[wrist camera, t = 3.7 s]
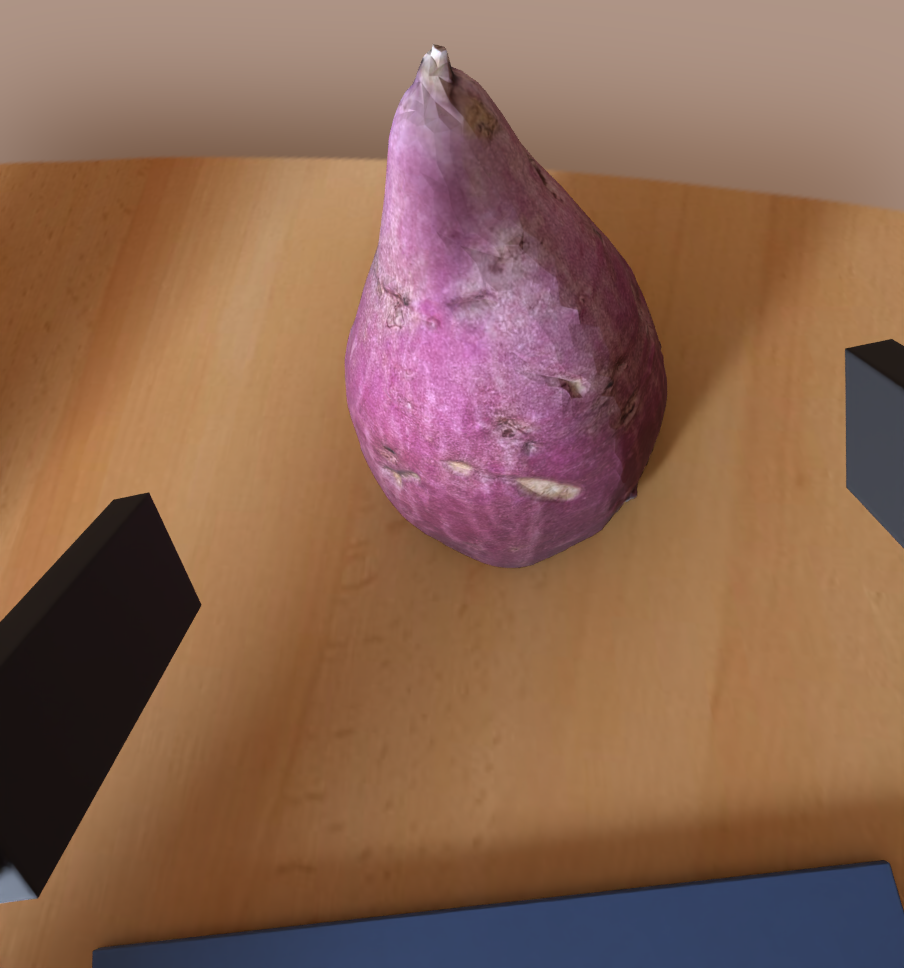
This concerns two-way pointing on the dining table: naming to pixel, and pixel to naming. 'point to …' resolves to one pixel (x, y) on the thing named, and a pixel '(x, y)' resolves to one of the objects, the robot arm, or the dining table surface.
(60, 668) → the robot arm
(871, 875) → the blue rectangular board
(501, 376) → the vegetable
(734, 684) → the dining table surface
